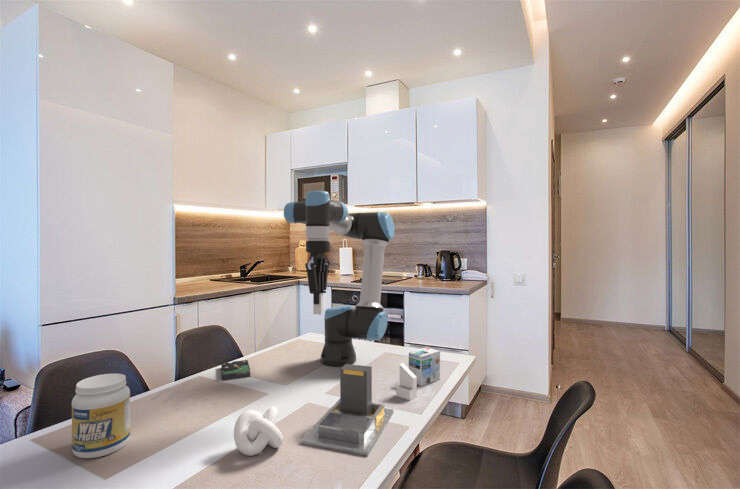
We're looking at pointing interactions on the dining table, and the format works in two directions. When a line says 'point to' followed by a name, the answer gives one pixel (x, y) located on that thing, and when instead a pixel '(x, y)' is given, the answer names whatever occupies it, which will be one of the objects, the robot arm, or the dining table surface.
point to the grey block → (356, 389)
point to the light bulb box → (425, 365)
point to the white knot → (257, 431)
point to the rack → (349, 430)
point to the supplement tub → (100, 415)
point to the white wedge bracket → (407, 384)
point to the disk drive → (235, 370)
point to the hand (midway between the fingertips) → (318, 313)
